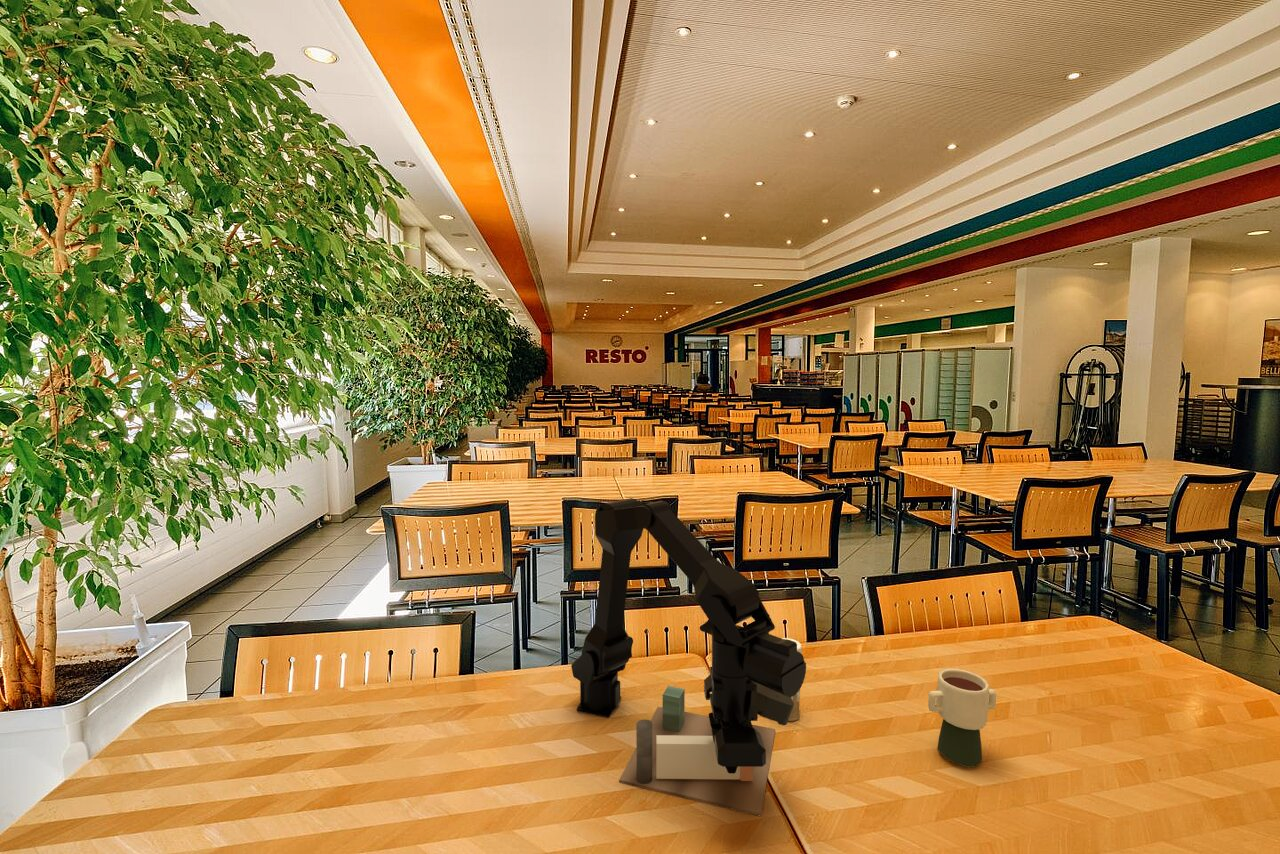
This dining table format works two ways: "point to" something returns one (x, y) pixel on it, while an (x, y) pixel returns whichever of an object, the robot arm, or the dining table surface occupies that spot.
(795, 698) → the sprinkles bottle
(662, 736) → the orange and cream block
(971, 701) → the character mug
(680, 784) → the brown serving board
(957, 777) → the dining table surface
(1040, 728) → the dining table surface
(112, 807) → the dining table surface
